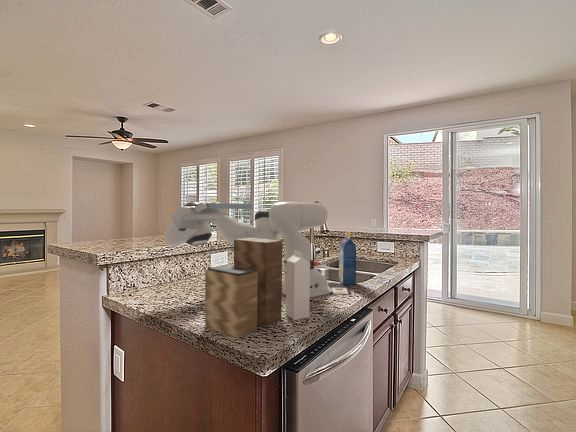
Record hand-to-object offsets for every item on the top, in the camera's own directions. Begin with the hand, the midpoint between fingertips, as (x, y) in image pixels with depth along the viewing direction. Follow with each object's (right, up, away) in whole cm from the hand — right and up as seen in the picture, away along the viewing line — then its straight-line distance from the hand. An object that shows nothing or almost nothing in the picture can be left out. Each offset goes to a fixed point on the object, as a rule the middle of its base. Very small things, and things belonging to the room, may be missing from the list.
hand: (212, 204), depth 115 cm
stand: (+17, -38, -11) cm, 43 cm away
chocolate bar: (+51, -38, +27) cm, 69 cm away
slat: (+5, -2, -4) cm, 6 cm away
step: (+10, -38, -20) cm, 44 cm away
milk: (+31, -38, -8) cm, 50 cm away
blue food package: (+56, -37, +39) cm, 78 cm away
